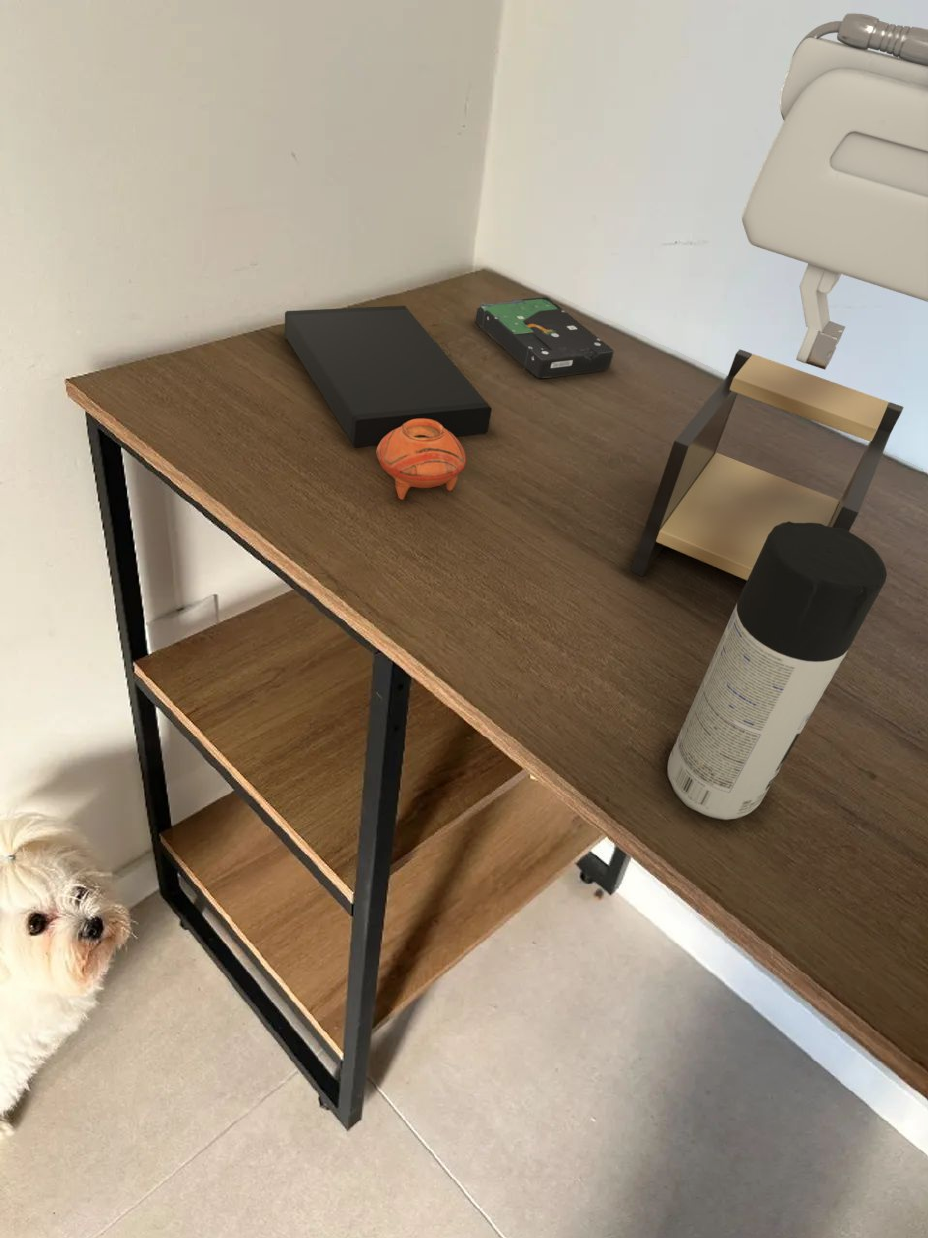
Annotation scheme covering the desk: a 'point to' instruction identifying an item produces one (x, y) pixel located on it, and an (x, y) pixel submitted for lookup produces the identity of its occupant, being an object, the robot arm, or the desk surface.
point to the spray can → (773, 665)
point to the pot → (421, 456)
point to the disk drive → (544, 337)
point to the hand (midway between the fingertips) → (909, 395)
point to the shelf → (756, 470)
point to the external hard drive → (383, 372)
